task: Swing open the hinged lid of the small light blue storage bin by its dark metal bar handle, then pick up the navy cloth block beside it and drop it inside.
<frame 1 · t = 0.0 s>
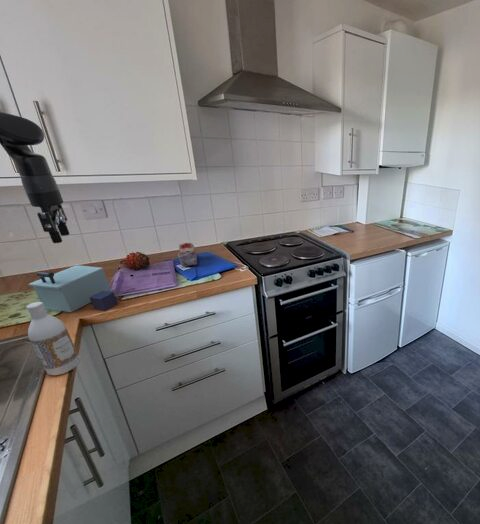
hand: (61, 238, 100), 27 cm above the worktop, tool pointing down, fingers open, 8 cm apart
food item: (189, 262, 148), on the worktop
block: (106, 306, 111), on the worktop
lid: (65, 271, 110), point 12 cm above the worktop, hinge at 0.0°
dragon fruit: (137, 268, 142), on the worktop
bath foam: (64, 367, 82), on the worktop
light blue storage bin: (79, 299, 115), on the worktop
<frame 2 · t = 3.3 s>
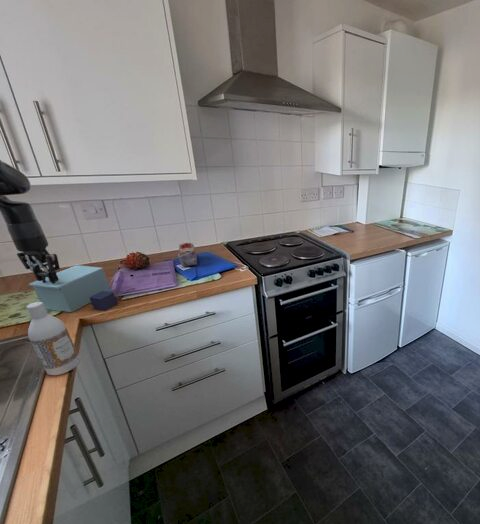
hand: (48, 280, 105), 12 cm above the worktop, tool pointing down, fingers closed on lid, 5 cm apart
lid: (65, 271, 110), point 12 cm above the worktop, hinge at 0.0°, touching gripper
everything else where it was.
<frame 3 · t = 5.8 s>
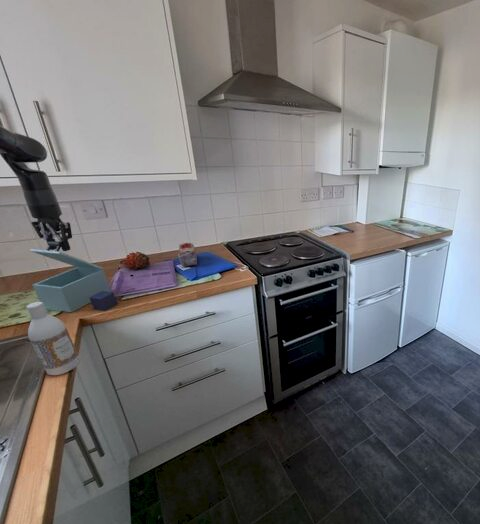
hand: (60, 249, 107), 20 cm above the worktop, tool pointing down, fingers closed on lid, 5 cm apart
lid: (71, 254, 111), point 17 cm above the worktop, hinge at 43.7°, touching gripper
everything else where it was.
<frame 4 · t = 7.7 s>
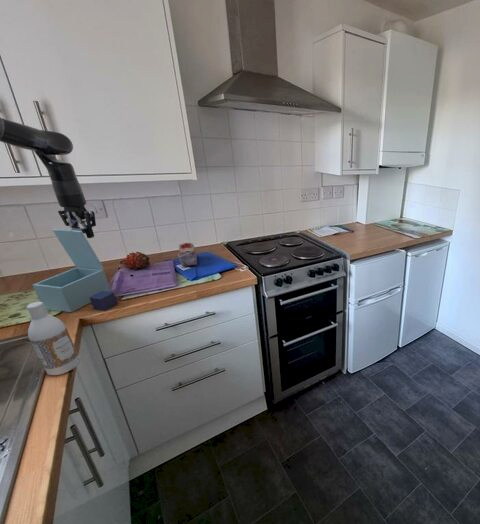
hand: (84, 236, 115), 22 cm above the worktop, tool pointing down, fingers closed on lid, 5 cm apart
lid: (83, 246, 115), point 19 cm above the worktop, hinge at 79.8°, touching gripper
everything else where it was.
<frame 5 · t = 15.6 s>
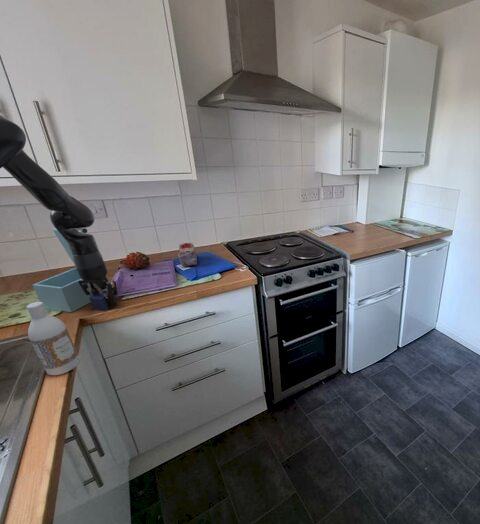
hand: (105, 305, 110), 0 cm above the worktop, tool pointing down, fingers closed on block, 5 cm apart
block: (106, 306, 111), on the worktop, touching gripper
lid: (84, 246, 115), point 19 cm above the worktop, hinge at 80.3°
everything else where it was.
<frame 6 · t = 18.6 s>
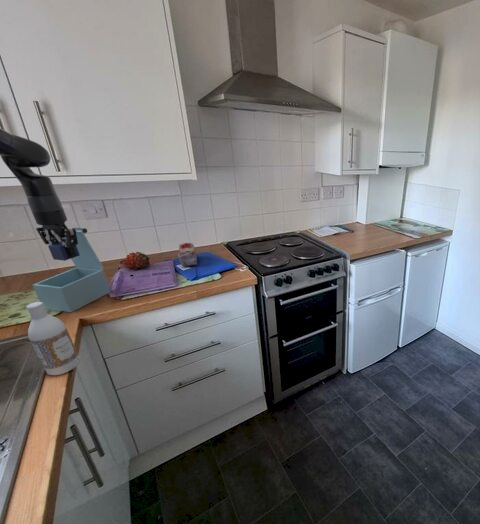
hand: (66, 256, 105), 19 cm above the worktop, tool pointing down, fingers closed on block, 5 cm apart
block: (67, 257, 105), point 19 cm above the worktop, touching gripper
everything else where it was.
when the fingers open (11 cm above the worktop, at t = 21.7 s): block drops 10 cm, resting on light blue storage bin.
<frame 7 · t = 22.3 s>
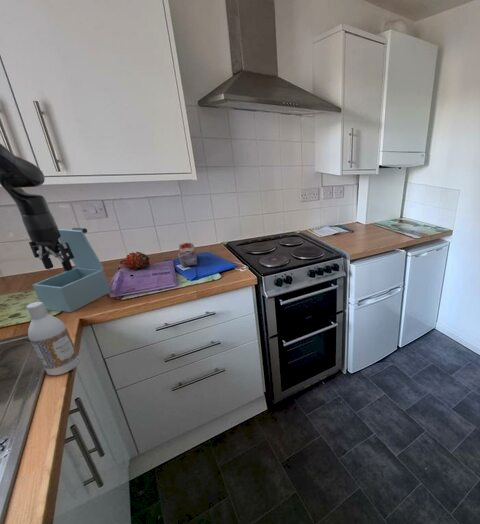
hand: (59, 269, 108), 14 cm above the worktop, tool pointing down, fingers open, 8 cm apart
block: (72, 300, 113), point 1 cm above the worktop, touching light blue storage bin
everything else where it was.
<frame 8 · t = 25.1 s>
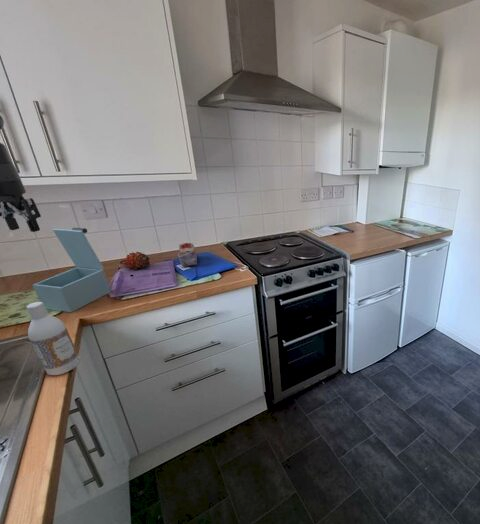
hand: (25, 230, 96), 30 cm above the worktop, tool pointing down, fingers open, 8 cm apart
nothing on the worktop moved.
at the end: lid at +80° (first picture: +0°); block inside the target area in the light blue storage bin (2.0 cm from its centre), point 0.8 cm above the light blue storage bin's base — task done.
